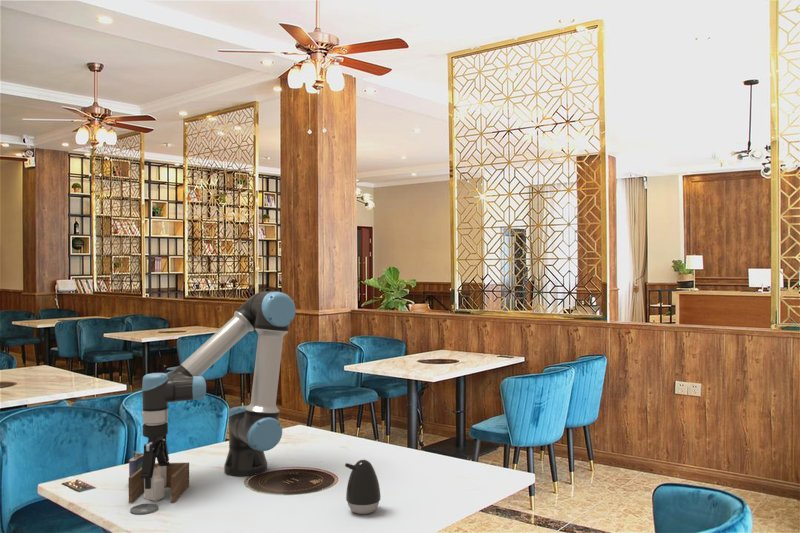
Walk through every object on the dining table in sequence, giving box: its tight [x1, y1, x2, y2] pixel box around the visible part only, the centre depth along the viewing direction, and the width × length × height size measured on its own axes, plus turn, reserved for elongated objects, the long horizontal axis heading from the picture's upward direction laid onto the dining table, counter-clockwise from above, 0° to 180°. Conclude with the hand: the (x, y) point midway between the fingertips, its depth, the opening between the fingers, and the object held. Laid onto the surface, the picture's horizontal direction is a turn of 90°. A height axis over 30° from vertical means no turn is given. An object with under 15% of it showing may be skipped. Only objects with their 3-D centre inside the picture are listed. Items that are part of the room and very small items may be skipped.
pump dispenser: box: [344, 459, 381, 515], centre depth 202 cm, size 10×10×15 cm
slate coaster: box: [129, 503, 159, 516], centre depth 205 cm, size 8×8×1 cm
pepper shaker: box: [148, 467, 165, 502], centre depth 215 cm, size 4×4×10 cm
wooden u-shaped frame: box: [128, 462, 190, 504], centre depth 219 cm, size 14×16×8 cm
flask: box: [128, 450, 144, 478], centre depth 232 cm, size 9×3×11 cm, turn 172°
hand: (155, 492), depth 215 cm, fingers open, 11 cm apart
